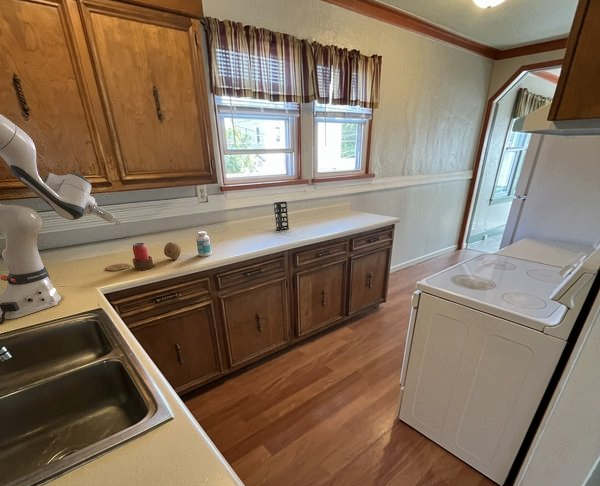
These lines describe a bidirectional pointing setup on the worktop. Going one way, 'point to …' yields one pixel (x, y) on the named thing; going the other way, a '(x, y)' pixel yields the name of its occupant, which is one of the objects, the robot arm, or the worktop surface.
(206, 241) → the pill bottle
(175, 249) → the natural sponge
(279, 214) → the holder
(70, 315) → the worktop surface
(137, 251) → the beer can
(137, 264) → the cup
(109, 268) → the coaster
